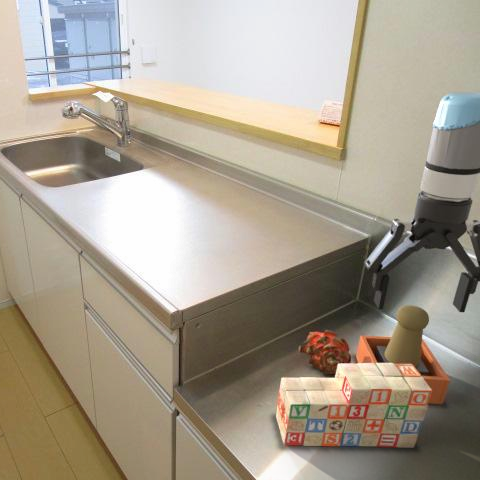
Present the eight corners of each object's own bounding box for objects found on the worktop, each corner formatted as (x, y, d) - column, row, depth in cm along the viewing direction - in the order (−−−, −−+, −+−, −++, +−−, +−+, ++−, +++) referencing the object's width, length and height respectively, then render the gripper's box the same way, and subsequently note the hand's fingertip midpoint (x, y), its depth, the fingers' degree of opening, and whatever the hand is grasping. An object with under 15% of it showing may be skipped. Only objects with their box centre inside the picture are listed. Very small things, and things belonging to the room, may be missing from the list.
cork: (418, 373, 82) (432, 322, 77) (382, 361, 85) (394, 312, 80) (420, 354, 87) (434, 306, 82) (386, 344, 90) (398, 297, 85)
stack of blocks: (283, 447, 74) (291, 389, 69) (275, 417, 79) (282, 362, 74) (415, 447, 73) (433, 389, 68) (397, 418, 79) (413, 362, 74)
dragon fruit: (337, 395, 86) (305, 363, 97) (371, 367, 86) (335, 338, 97) (315, 368, 83) (285, 337, 95) (350, 338, 83) (316, 311, 94)
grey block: (409, 366, 90) (414, 347, 89) (423, 390, 84) (429, 372, 82) (372, 363, 91) (376, 345, 89) (384, 388, 85) (388, 369, 83)
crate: (416, 361, 93) (422, 338, 90) (442, 404, 82) (450, 380, 79) (355, 357, 94) (360, 335, 92) (373, 399, 83) (379, 375, 81)
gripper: (516, 187, 74) (481, 298, 83) (358, 186, 77) (340, 293, 86) (545, 203, 67) (504, 321, 76) (371, 201, 70) (351, 315, 79)
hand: (417, 306), depth 81 cm, fingers open, 13 cm apart
